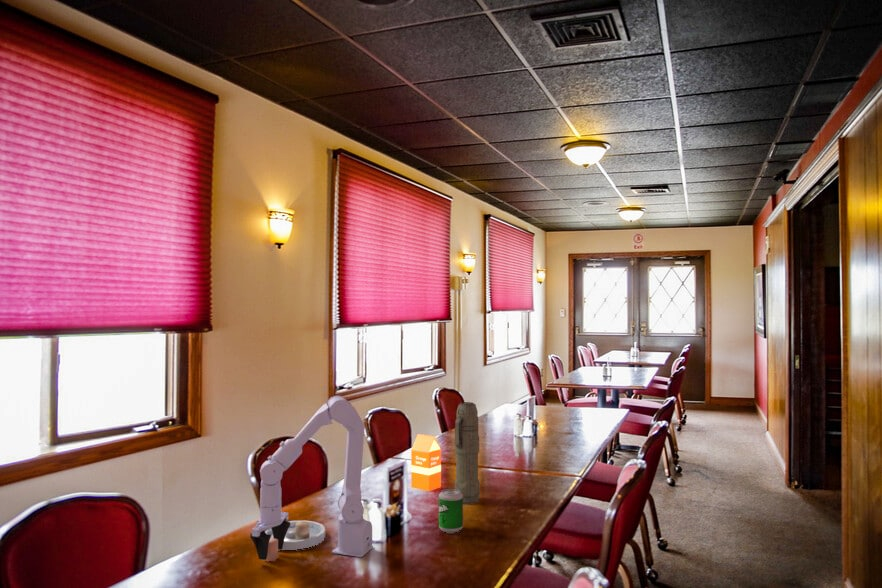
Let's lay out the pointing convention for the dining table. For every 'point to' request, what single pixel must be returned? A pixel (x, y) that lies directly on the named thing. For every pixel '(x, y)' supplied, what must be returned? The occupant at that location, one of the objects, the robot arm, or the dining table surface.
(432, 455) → the orange juice
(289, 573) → the dining table surface
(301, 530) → the maple bead
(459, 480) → the thermos
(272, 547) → the ball
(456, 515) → the soda can
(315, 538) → the groove tray
